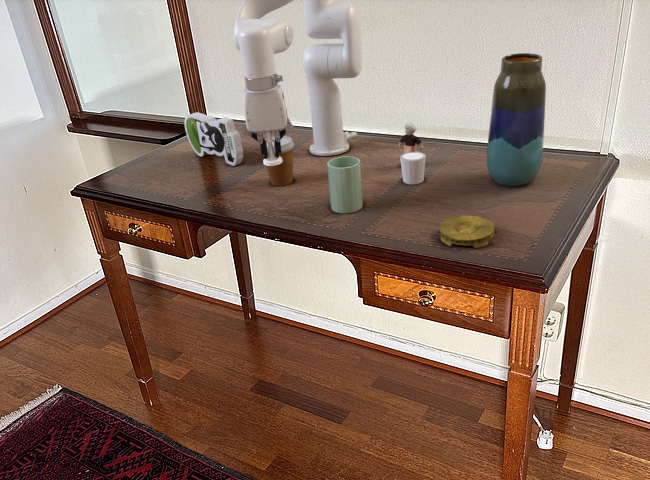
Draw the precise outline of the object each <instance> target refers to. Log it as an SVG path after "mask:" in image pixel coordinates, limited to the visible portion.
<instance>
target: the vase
mask: <svg viewBox="0 0 650 480" xmlns="http://www.w3.org/2000/svg"><path fill="white" fill-rule="evenodd" d="M542 67H543V56H542V55H540V54H538V53H530V52H529V53H528V52H521V53H520V52H519V53H512V54H508V55H505V56H503V57H502V58H501V62H500V71H499V74H498V76H497V78H496V80H495V82H494V85H493V92H492V99H491V100H492V101H491V109H490V118H489V128H488V137H487V148H486V166H487V171H488V173H489V175H490V176H491V178H492V179H493V180H494V182H495V183H498V184H500V185H502V186H506V187H507V186H508V187H520V186H525V185H526V184H528V183H530V182H532V181H533V180H534V179H535V177H536V176H537V175H538V173H539V172H540V169H541V167H542V162H543V157H544V156H543V154H544V145H545V144H544V143H545V142H544V141H545V122H546V121H545V120H546V101H547V99H546V98H547V82H546V79H545V76H544V73H543V71H542V70H543V69H542Z"/></svg>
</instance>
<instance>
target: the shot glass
mask: <svg viewBox="0 0 650 480" xmlns="http://www.w3.org/2000/svg"><path fill="white" fill-rule="evenodd" d="M426 157H427V154H426V153H423V152H420V151H416V152H408V153H404V152H403V153H402V154H401V155H400V156H399V159H400V166H401V168H400V169H401V177H402V181H403V183H404V184H407V185H419V184H422V183H423V182H424V179H425V169H426V159H427V158H426Z"/></svg>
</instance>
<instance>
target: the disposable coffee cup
mask: <svg viewBox="0 0 650 480" xmlns="http://www.w3.org/2000/svg"><path fill="white" fill-rule="evenodd" d="M271 139H274V140H275V136H272V138H271ZM266 140H267V138H265V141H266ZM280 143H281V150H282V153H279V156H280V157H281V158H282V163H280V164H278V165H274V166H266V170H267V174H268V176H269V181H270V184H271V185H273V186H276V187H280V186H281V187H282V186H287V185H290V184H292V182H293V179H294V178H293V177H294V176H293V175H294V173H293V172H294V171H293V170H294V146H295V142H294V141H293V139H292V137H290V136H286V135H284V136H283V138H282V139H281V140H280ZM266 144H267V150H268V155H269V149H268V143H266ZM272 145H273V149H274V152H275V147H274V142H272ZM259 148H260V147H259ZM260 150H261V148H260ZM275 155H276V153H275ZM264 159H265V158H264V157H263V160H264Z"/></svg>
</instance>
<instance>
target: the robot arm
mask: <svg viewBox="0 0 650 480" xmlns="http://www.w3.org/2000/svg"><path fill="white" fill-rule="evenodd" d="M292 2H294V0H242V1H241V4H240V5H239V8H238V11H237V14H236V17H235V21H234V25H233V31H232V37H233V43H234V46H235V47H236V49H237V50H238V51H239V52H240V53H239V54H240V60H241V65H242V71H243V79H244V84H245V88H244V89H243V110H244V111H243V112H244V119H245V124H244V127H243V132H242V134H243V135H244V136H246V137H251V138H252V139H253V140H254V141H256V142H257V143H258V145H259V148H261V149H260V155H262V156H263V159H264V158H265V159H267V158H268V150H267V144H266V141H265V139H266V138H265V137H264V132H265V131H271V130H272V131H273V133H274V137H275V140H274V147H275V153H276V157H277V158H279V153H282V150H281V143H280V140H281V139H282V138H283V136H286V134H288V133H290V132H291V131H293V130H294V124H293V123H292V121H291V120H290V118H289V117H288V111H287V110H288V109H287V103H286V100H285V95H284V91H283V88H282V85H281V84H279V83H280V82H284V79H283V78H284V77H283V75H282V74H281V75H279V74H278V73H277V72H276V71H277V70H276V63H275V57H274V56H275V55H277V54H280V53H284V52H286V51H287V50H288V49H289V48H290V47H291V45H292V43H293V41H294V30H293V27H292V25H291V23H290V22H289V21H287V20H286V19H284V18H277V17H275V18H263V17H264V16H266V15H267V14H270V13H272V12H273V11H276V10H278V9H280V8H283V7H285V6H287V5H289V4H290V3H292ZM302 9H303V20H304V22H303V23H304V28H305V33H306V35H307V37H309V38H310V39H313V40H341V41H342V43H317V44H312V45H309V46H308V47H306V48H305V49H304V51H303V53H302V57H301V61H302V67H303V71H304V74H305V78H306V82H307V83H306V84H307V89H308V97H309V107H310V109H309V110H310V116H311V117H310V118H311V127H312V137H313V143H312V144H311V145H310V146H309V152H310V153H311V154H312V155H313V156H319V157H330V156H331V157H333V156H338V155H342V154H343V153H346V152H347V151H348V150H349V149H350V143H349V142H348V141H350V140H353V139H356V138H358V133H357V131H351V132H349V131H345V132H344V122H343V109H342V97H341V96H342V95H341V91H340V88H339V86H338V84H337V83H336V81H335V80H334V79H355V78H357V77H358V76H359V75H360V73H361V72H362V66H363V52H362V51H363V50H362V25H361V15H360V12H359V9H358V6H357V5H356V4H355V3H353V2H351V1H335V0H302Z"/></svg>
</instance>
